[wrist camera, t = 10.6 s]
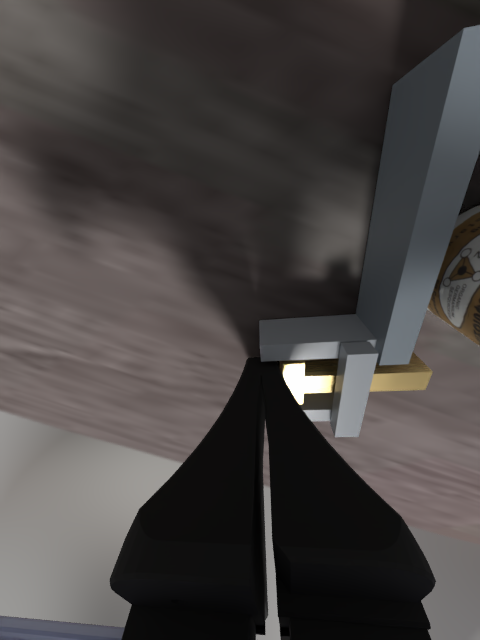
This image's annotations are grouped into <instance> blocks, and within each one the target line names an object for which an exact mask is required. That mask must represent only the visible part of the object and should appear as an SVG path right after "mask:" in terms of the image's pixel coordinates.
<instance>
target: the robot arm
mask: <svg viewBox="0 0 480 640" xmlns="http://www.w3.org/2000/svg"><path fill="white" fill-rule="evenodd" d="M265 421H266V428H267V436H268V443H269V464H270V490H271V515H272V516H271V517H272V541H273V551H274V560H275V570H276V586H277V605H278V606H277V607H278V617H279V623H280V636H281V640H431V638H430V635H429V633H428V630H429V629H430V628H431V627H430V622H429V620H428V618H427V615H426V613H425V610H424V608H423V605H422V603H421V600H422V599H423V598H424V597H425V596H427V595H428V594H429V593H430V592H431V591H432V589H433V588H434V586H435V582H436V581H435V578H434V576H433V573H432V571H431V568H430V566H429V564H428V561H427V560H426V558H425V556H424V554H423V552H422V550H421V549H420V547H419V545H418V543H417V542H416V540H415V538H414V536H413V535H412V533H411V531H410V530H409V528H408V526H407V525H406V523H405V522H404V520H403V519H402V517H401V516H400V515H399V514H398V513H397V512H396V511H395V510H394V509H393V508H392V507H391V506H389V505H388V504H387V503H386V502H385V501H384V500H383V499H382V498H381V497H380V496H379V495H378V494H377V493H376V492H375V491H374V490H373V489H372V488H371V487H370V486H369V485H368V484H366V482H365V481H364V480H363V479H362V478H361V477H360V476H359V475H358V474H357V473H356V472H355V471H354V470H353V469H352V468H351V467H350V466H349V465H348V464H347V463H346V462H345V461H344V459H343V458H342V457H341V456H340V455H339V454H338V453H337V452H336V451H335V449H334V448H333V447H332V446H331V445H330V444H329V443H328V442H327V440H326V439H325V438H324V437H323V436H322V434H321V433H320V432H319V431H318V429H317V428H316V427H315V425H314V424H313V423H312V422H311V420H310V419H309V418H308V416H307V415H306V413H305V412H304V410H303V409H302V408H301V406H300V405H299V403H298V402H297V400H296V398H295V397H294V395H293V394H292V392H291V390H290V388H289V387H288V385H287V383H286V381H285V379H284V377H283V375H282V373H281V371H280V369H279V366H278V364H277V361H264V362H261V357H254V358H248V359H247V361H246V364H245V367H244V370H243V373H242V375H241V377H240V380H239V382H238V384H237V386H236V388H235V390H234V392H233V394H232V396H231V397H230V399H229V401H228V403H227V404H226V406H225V408H224V410H223V411H222V413H221V414H220V416H219V418H218V419H217V421H216V422H215V423H214V425H213V426H212V428H211V429H210V431H209V432H208V433H207V435H206V436H205V437H204V439H203V440H202V441H201V443H200V444H199V445H198V446H197V448H196V449H195V450H194V451H193V453H192V454H191V455H190V456H189V457H188V458H187V459H186V461H185V462H184V463H183V464H182V465H181V466H180V467H179V469H178V470H177V471H176V472H175V473H174V474H173V475H172V477H170V479H169V480H168V481H167V482H166V483H165V484H164V485H163V486H162V487H161V488H160V489H159V490H158V491H157V492H156V493H155V494H154V495H153V496H152V497H151V498H150V499H149V500H148V501H147V502H146V503H145V504H144V505H143V506H142V507H141V508H140V509H139V511H138V513H137V515H136V517H135V519H134V521H133V523H132V525H131V527H130V530H129V532H128V534H127V536H126V538H125V541H124V543H123V546H122V549H121V551H120V554H119V556H118V559H117V562H116V564H115V567H114V570H113V572H112V575H111V578H110V586H111V589H112V590H113V591H115V593H117V594H118V595H120V596H121V597H122V598H124V599H125V600H126V601H128V602H129V603H131V604H132V606H131V609H130V613H129V616H128V620H127V622H126V626H125V628H123V627H113V626H101V625H92V624H81V623H71V622H59V621H50V620H39V619H28V618H18V617H7V616H0V640H256V634H259V635H265V620H266V618H267V616H268V602H267V575H266V550H265V523H264V522H265V521H264V494H263V449H264V429H265ZM427 629H428V630H427Z"/></svg>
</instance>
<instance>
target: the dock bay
mask: <svg viewBox="0 0 480 640" xmlns="http://www.w3.org/2000/svg"><path fill="white" fill-rule="evenodd" d="M479 152H480V25H477V26H472V27H467V28H463V29H462V30H461V31H460V32H458V33H457V34H456V35H455V36H453V37H452V38H451V39H450V40H448V41H447V42H446V43H445V44H443V45H442V46H441V47H440V48H438V49H437V50H436V51H435V52H433V53H432V54H431V55H430V56H428V57H427V58H426V59H425V60H423V61H422V62H421V63H420V64H418V65H417V66H416V67H415V68H413V69H412V70H411V71H410V72H408V73H407V74H406V75H405V76H403V77H402V78H401V79H400V80H398V81H397V82H396V83H395V84H393V86H392V92H391V99H390V105H389V111H388V117H387V123H386V130H385V136H384V142H383V148H382V154H381V161H380V167H379V173H378V179H377V185H376V192H375V198H374V204H373V210H372V216H371V222H370V229H369V235H368V241H367V247H366V253H365V260H364V266H363V272H362V278H361V284H360V291H359V297H358V303H357V309H356V314H349V315H333V316H318V317H302V318H287V319H271V320H259V334H260V354H261V362H264V361H286V360H309V359H332V358H339V361H338V368H337V376H336V383H335V391H334V392H331V393H304V398H303V404H299V405H300V406H301V408H302V409H303V410H304V412H305V413H306V415H307V416H308V418H309V419H310V420H311V421H330V424H331V427H332V430H333V433H334V436H335V437H358V436H359V432H360V428H361V424H362V420H363V416H364V412H365V408H366V403H367V399H368V395H369V391H370V387H371V383H372V379H373V374H374V370H375V366H376V362H377V363H378V364H379V365H401V364H409V361H410V358H411V355H412V352H413V349H414V346H415V343H416V340H417V337H418V334H419V331H420V328H421V325H422V322H423V319H424V316H425V313H426V310H427V307H428V304H429V301H430V298H431V295H432V292H433V289H434V286H435V283H436V280H437V277H438V274H439V271H440V268H441V265H442V263H443V260H444V257H445V254H446V251H447V248H448V245H449V242H450V239H451V236H452V233H453V230H454V227H455V224H456V221H457V218H458V215H459V212H460V209H461V206H462V203H463V200H464V197H465V194H466V191H467V188H468V185H469V182H470V179H471V176H472V173H473V170H474V167H475V164H476V161H477V158H478V155H479Z"/></svg>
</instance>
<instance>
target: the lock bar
mask: <svg viewBox="0 0 480 640" xmlns="http://www.w3.org/2000/svg"><path fill="white" fill-rule="evenodd" d="M338 361H339V358H332V359H309V360H286V361H279V364H280V371H281V373H282V375H283V377H284V379H285V381H286V383H287V385H288V387H289V388H290V390H291V392H292V394H293V395H294V397H295V398H296V400H297V402H298V403H299V404H303V398H304V393H331V392H334V391H335V383H336V376H337V368H338ZM431 375H432V371H431V370H430V369H429V368H428V367H427V366H426V365H425V364H424V363H423V362H422V361H421V360H420V359H419V358H418V357H417V356H416V355H415V354H414V353H413V352H412V355H411V358H410V361H409V364H401V365H379V364H378V363H377V362H376V366H375V370H374V374H373V379H372V383H371V387H370V391H403V390H425V389H426V387H427V384H428V382H429V380H430V377H431Z"/></svg>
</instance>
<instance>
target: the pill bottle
mask: <svg viewBox="0 0 480 640" xmlns="http://www.w3.org/2000/svg"><path fill="white" fill-rule="evenodd" d="M427 309H428V310H429V311H430V312H432V313H433V314H434V315H436V316H437V317H438V318H440V319H441V320H443V321H444V322H446V323H447V324H449V325H450V326H452V327H453V328H454V329H456V330H457V331H458V332H460V333H462V334H463V335H465V336H466V337H467V338H469V339H470V340H472V341H473V342H474V343H476V344H477V345H479V346H480V205H478V206H476V207H474V208H472V209H470V210H468V211H466V212H464V213H462V214H461V215H459V216H458V218H457V221H456V224H455V227H454V230H453V233H452V236H451V239H450V242H449V245H448V248H447V251H446V254H445V257H444V260H443V263H442V265H441V268H440V271H439V274H438V277H437V280H436V283H435V286H434V289H433V292H432V295H431V298H430V301H429V304H428V307H427Z"/></svg>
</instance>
